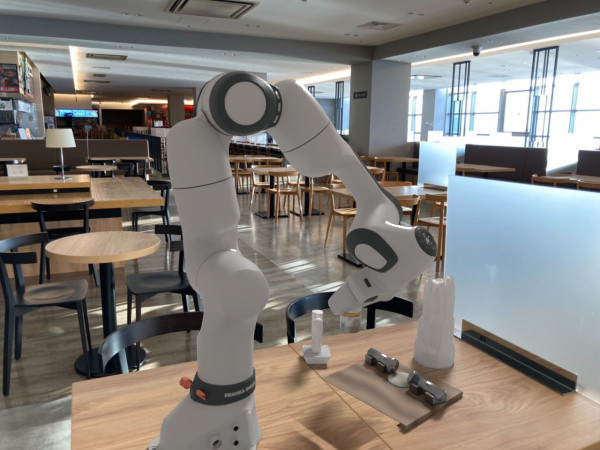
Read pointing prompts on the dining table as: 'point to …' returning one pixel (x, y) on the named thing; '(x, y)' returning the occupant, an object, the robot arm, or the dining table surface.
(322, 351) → the white peg on base
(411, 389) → the near steel shaft
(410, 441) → the dining table surface
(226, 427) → the robot arm
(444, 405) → the walnut base board
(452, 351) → the decorative vase
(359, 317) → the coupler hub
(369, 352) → the far steel shaft
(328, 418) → the dining table surface
